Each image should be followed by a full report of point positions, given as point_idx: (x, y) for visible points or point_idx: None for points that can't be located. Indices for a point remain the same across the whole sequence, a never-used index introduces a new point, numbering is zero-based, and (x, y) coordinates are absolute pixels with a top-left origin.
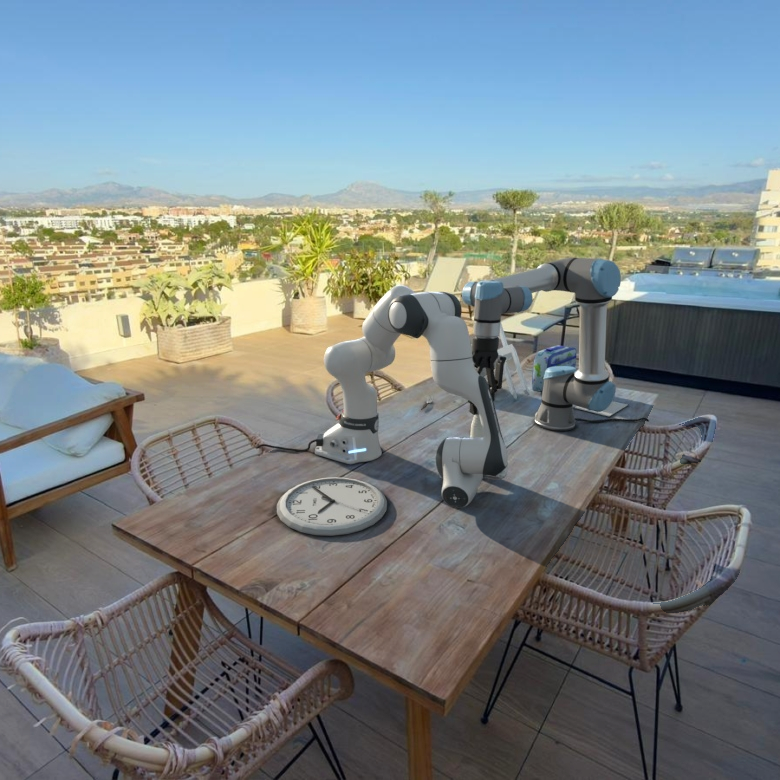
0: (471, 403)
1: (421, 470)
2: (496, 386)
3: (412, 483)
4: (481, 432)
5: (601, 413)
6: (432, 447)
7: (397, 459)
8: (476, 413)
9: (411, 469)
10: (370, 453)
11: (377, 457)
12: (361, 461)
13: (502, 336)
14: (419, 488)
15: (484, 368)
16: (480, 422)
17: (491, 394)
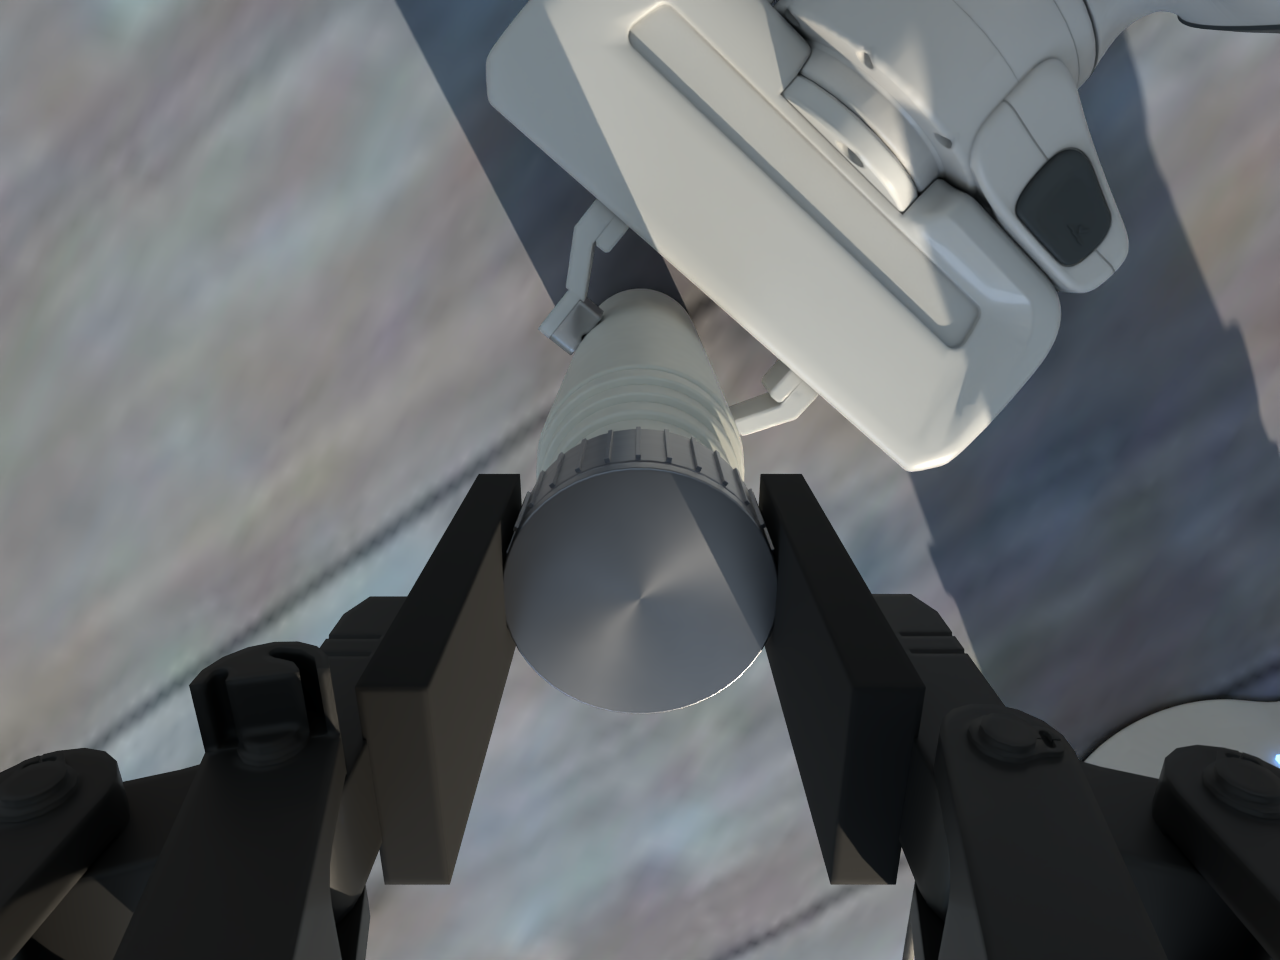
0: (893, 598)
1: (967, 499)
2: (138, 855)
3: (1128, 345)
4: (663, 357)
5: None
6: (727, 765)
7: (1024, 678)
8: (749, 491)
9: (1020, 530)
10: (1219, 740)
11: (1139, 723)
12: (1256, 703)
13: None
14: (1128, 261)
15: None
16: (679, 411)
17: (413, 654)
